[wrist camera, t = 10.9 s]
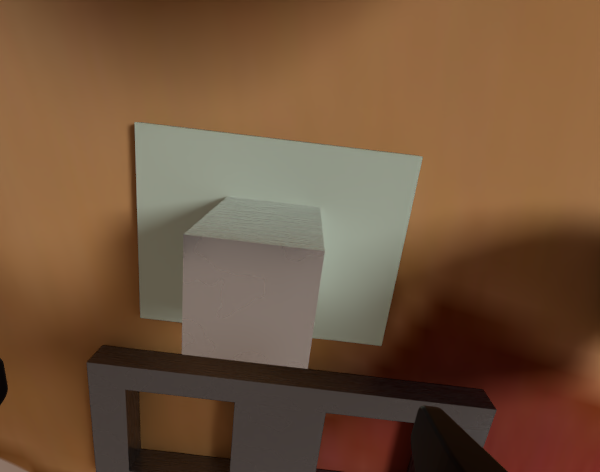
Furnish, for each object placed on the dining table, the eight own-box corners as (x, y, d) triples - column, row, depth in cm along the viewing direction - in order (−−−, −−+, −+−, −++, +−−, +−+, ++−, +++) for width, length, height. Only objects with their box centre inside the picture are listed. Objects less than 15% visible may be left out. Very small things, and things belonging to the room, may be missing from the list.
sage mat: (419, 155, 16) (422, 156, 16) (379, 339, 19) (381, 345, 19) (140, 122, 16) (134, 122, 16) (145, 312, 19) (140, 317, 19)
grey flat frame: (483, 389, 20) (496, 409, 19) (445, 501, 23) (454, 526, 21) (102, 345, 20) (86, 362, 19) (110, 463, 23) (97, 485, 21)
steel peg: (320, 207, 16) (324, 250, 11) (308, 290, 18) (307, 369, 12) (227, 196, 16) (183, 234, 11) (223, 280, 18) (181, 354, 12)
